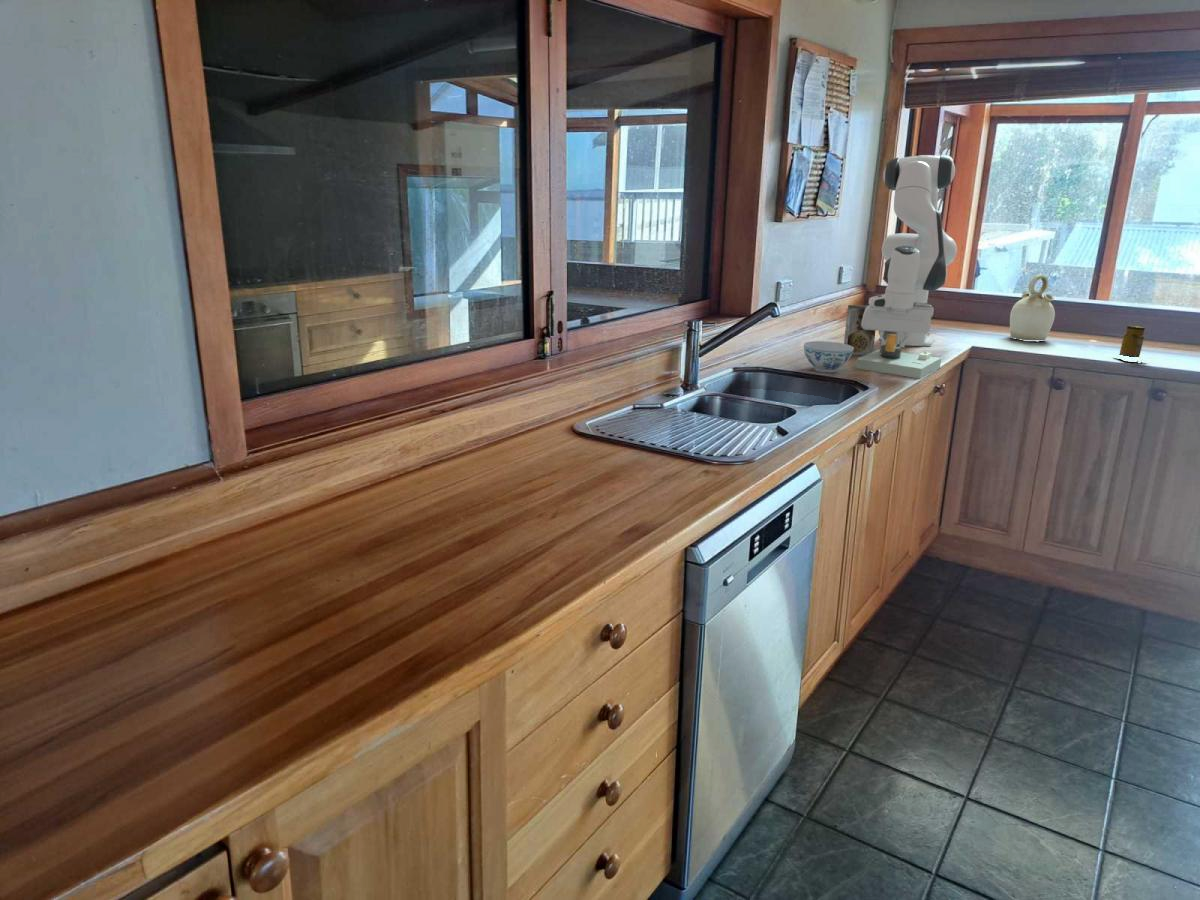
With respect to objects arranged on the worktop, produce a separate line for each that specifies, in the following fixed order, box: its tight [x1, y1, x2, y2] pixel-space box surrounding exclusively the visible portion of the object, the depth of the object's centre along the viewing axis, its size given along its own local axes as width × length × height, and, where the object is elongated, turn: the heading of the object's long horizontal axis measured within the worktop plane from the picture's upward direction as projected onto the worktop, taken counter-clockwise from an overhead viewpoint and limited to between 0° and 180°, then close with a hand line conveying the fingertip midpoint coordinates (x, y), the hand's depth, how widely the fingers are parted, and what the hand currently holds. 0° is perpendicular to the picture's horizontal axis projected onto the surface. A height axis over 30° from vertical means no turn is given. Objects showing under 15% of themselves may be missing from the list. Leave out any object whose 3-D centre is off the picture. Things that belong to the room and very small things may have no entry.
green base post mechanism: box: [855, 331, 942, 379], centre depth 269 cm, size 22×20×17 cm
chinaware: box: [803, 340, 854, 373], centre depth 263 cm, size 15×15×8 cm
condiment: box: [1118, 324, 1146, 358], centre depth 295 cm, size 7×8×12 cm
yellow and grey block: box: [881, 334, 902, 358], centre depth 269 cm, size 12×6×8 cm, turn 157°
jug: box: [1009, 274, 1056, 341], centre depth 328 cm, size 15×16×25 cm
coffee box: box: [843, 304, 877, 356], centre depth 289 cm, size 9×6×16 cm
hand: (892, 345), depth 265 cm, fingers open, 4 cm apart
